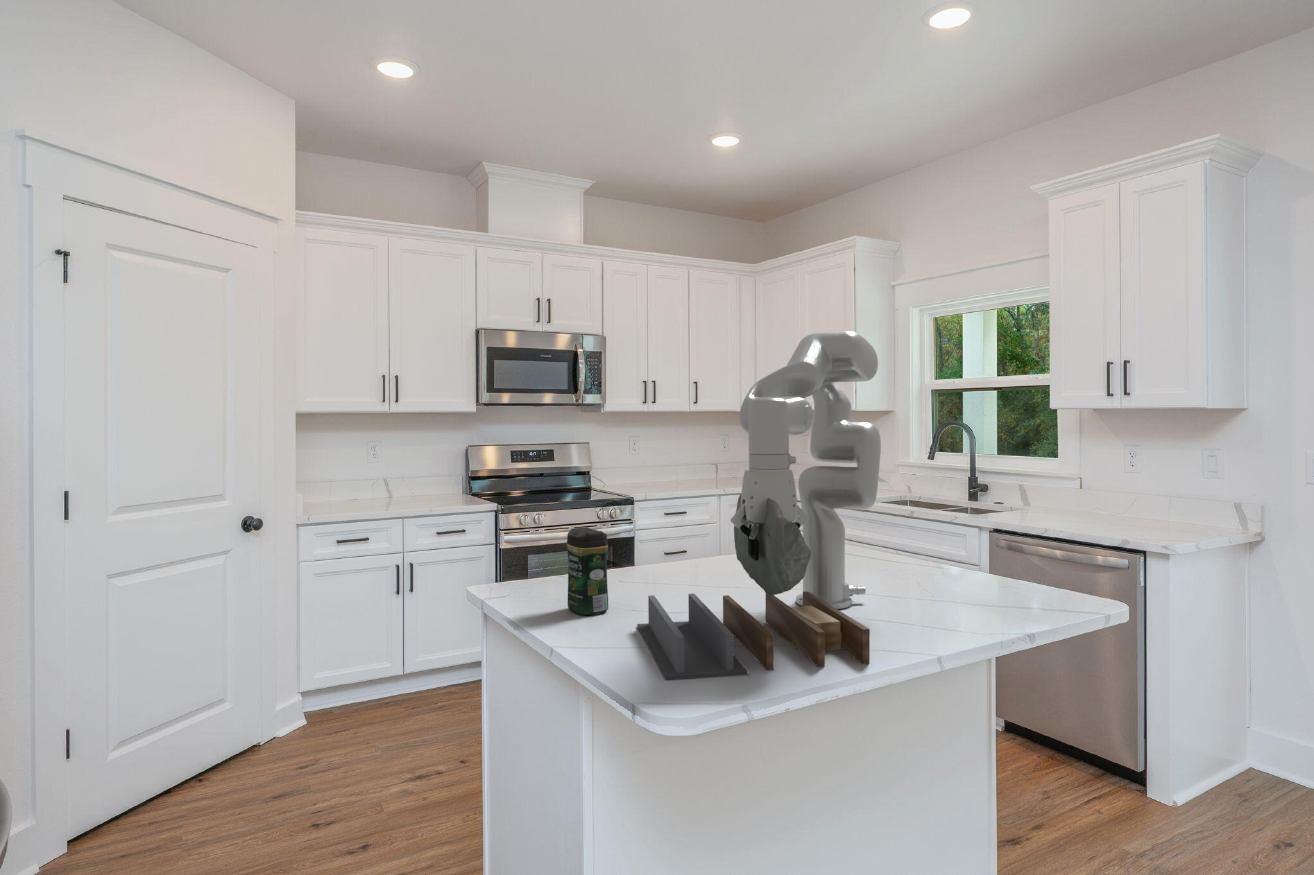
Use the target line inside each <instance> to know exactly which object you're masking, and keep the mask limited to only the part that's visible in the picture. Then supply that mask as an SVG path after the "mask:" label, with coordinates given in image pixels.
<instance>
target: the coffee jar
mask: <svg viewBox="0 0 1314 875" xmlns="http://www.w3.org/2000/svg"><path fill="white" fill-rule="evenodd" d="M566 539H567V540H566V549H567V564H568V566H567V569H568V570H567V607H568V610H570V611H572V612H574V613H576V614H579V615H582V616H583V615H584V616H585V615H587V616H588V615H592V616H597V615H601V614H603V613H605V612H607V611H608V610H609V592H608V591H609V590H608V573H607V572H608V569H607V568H608V566H607V560H608V559H607V557H608V556H607V554H608V550H609V549H608V548H609V547H608V546H609V542H608V541H609V540H608V535H607V533H606V532H603V531H602V530H599V529H593V528H590V527H588V526H584V527H574V528H571V530H569V531H568V533H567V537H566Z"/></svg>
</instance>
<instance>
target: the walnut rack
mask: <svg viewBox="0 0 1314 875" xmlns="http://www.w3.org/2000/svg"><path fill="white" fill-rule="evenodd" d="M802 594H803V606H813V607H815V608H817V609H818V610H820V611H822V612H824V613H826V614H828V615H829V616H831V617H833V618H835V619H837V620H839V621H840V632H842V643H841V649H842V650H843V651H845V652H846V653H847V654H849V655H850V656H852V658H854V659H855V660H857V661H858V662H860V663H861V664H863V665H864V664H866V665H867V664H870V662H871V661H870V657H871V656H870V652H871V651H870V649H871V648H870V646H871V645H870V644H871V643H870V631H871V630H870V628H868V627H867V626H865V625H864V624H862V623H860V622H859V621H857V620H856V619H854V618H852V617H851V616H849V615H848V614H846V613H844V612H842V611H840V609H836V608H834V607H833V606H831V605H829V604H828V603H826V602H824V601H823V600H821V599H820V598H818V597H816V596H815V595H813V594H811V593H810V592H803V591H802ZM791 607H792V606H790V605H788V604H787V603H786V602H784V601H782V600H781V599H779V598H778V597H777V596H775V595H772V596H769V595H767V594H766V593H765V623H766V624H767V625H769V626H770V627H771V628H772V629H773V630H774V631H775V632H777V633H778V634H779V635H780V636H781V637H783V638H784V639H785V640H786V642H788V643H790V644H791V645H792V646H793V647H794V648H795V649H797V650H798V652H800V653H802V655H804V656H805V657H806V658H807V659H808V660H810V661H811V662H812V663H813V664H814V665H815V666H816V667H818V668H821V667H826V650H825V631H823V630H822V629H820V628H819V627H818V626H816V625H815V624H813V623H812V622H811V621H809V620H808V619H806V618H805V617H804V616H802V615H801V614H799V613H798V612H797V611H795V610H794V609H792V608H791ZM722 623H723V624H724V625H725V626H726V627H727V628H728V629H729V630H730V631H731V633H732V634H733V637H735V639H737V641H738V642H739V643H740V644H741V645H742V646H743V647H744V648H745V649H746V650H747V651H748V652H749V653H750V654H751V656H753V657H754V659H756V660H757V662H758V663H759V664H760V665H761V666H762V667H763V668H764V669H765V670H766V671H773V670H775V669H774V668H775V667H774V665H775V662H774V660H775V659H774V658H775V657H774V655H775V654H774V653H775V652H774V650H775V649H774V645H775V644H774V634H773V633H772V632H771V631H770V630H769V628H768V629H767V627H766V626H764V625H763V624H762V623H761V622H760V621H758V619H757V618H755V617H754V616H753V615H751V613H750V612H749V611H747V610H746V609H745V608H744V607H743V606H742V605H740V604H739V603H738V602H737V601H736V600H734V599H733V598H732V597H731V596H730V595H729V594H728V595H722Z"/></svg>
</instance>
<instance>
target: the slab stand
mask: <svg viewBox="0 0 1314 875" xmlns="http://www.w3.org/2000/svg"><path fill="white" fill-rule="evenodd" d="M647 601H648V612H647V613H648V623H637V624H636V625H637V626H636V627H637V630H638V631H639V632H640V635H641V637H642V638H643V640H644V642H645V644H646V646H647V648H648V650H649V652H650V654H651V655H652V658H653V659H654V661H655V663H656V666H657V667H658V669H659V671H660V673H661V675H662V678H664V681H672V680H686V679H689V680H690V679H702V678H716V677H731V676H733V677H734V676H746V675H749V671H748V669H747V668H746V667H745V666H744V665H743V663H742V662H740V660H739V659H738V658H737V657H736V656H735V655H734V635H733V634H732V633H731V631H730V630H729V629H728V628H727V627H726V626H725V625H724V624H723V621H721V620H720V619H719V618H718V617H717V615H716V614H715V613H713V611H712V610H710V608H708V606H707V605H706V604H705V603H704V602H703V601H702V600H701V599H700V598H699V596H698V595H697V594H696V593H688V620H687V621H673V620H672V618H671V617H670V615H669V614H668V612H667V611H666V610H665V609H664V607H663V606H662V604H661V603H660V601H659V600H658V598H657V597H656V596H655V595H654V594H653V595H652V594H651V595H648V599H647Z"/></svg>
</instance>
